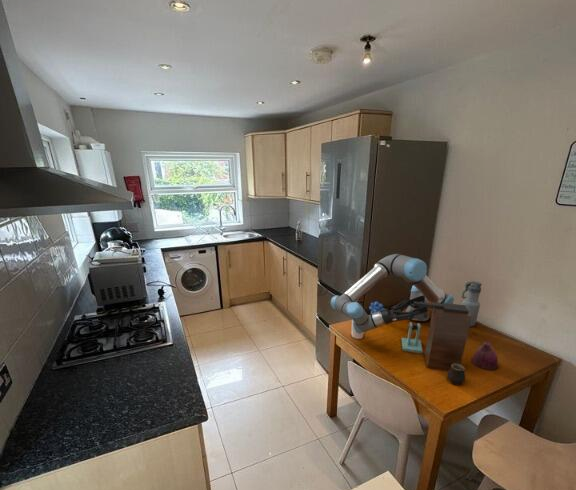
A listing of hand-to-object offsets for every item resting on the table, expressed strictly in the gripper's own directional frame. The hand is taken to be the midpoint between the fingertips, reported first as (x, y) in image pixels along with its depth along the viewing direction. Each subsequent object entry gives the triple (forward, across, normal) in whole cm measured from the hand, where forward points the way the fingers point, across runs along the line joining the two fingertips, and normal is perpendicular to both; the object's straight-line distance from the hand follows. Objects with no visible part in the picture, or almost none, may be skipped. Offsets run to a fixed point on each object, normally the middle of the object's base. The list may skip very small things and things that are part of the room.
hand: (425, 302), depth 145 cm
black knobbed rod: (-13, -18, -20) cm, 30 cm away
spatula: (+4, 0, -5) cm, 7 cm away
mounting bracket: (-17, -13, -27) cm, 35 cm away
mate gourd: (-2, +14, -36) cm, 39 cm away
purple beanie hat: (+12, -6, -44) cm, 46 cm away
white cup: (-43, -16, -12) cm, 48 cm away
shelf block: (-6, 0, -34) cm, 34 cm away
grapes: (-34, -43, -17) cm, 58 cm away
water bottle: (+14, -54, -45) cm, 72 cm away
